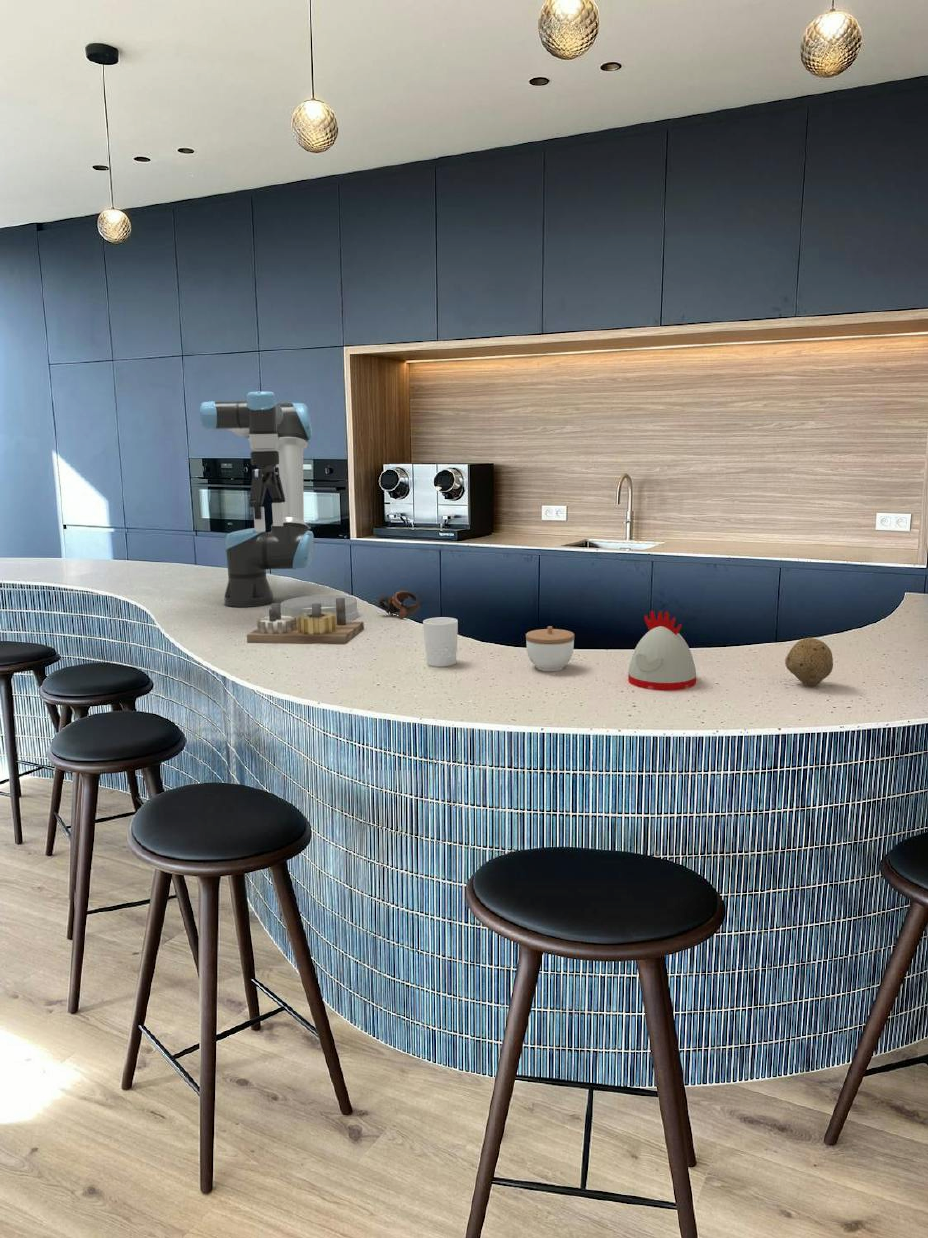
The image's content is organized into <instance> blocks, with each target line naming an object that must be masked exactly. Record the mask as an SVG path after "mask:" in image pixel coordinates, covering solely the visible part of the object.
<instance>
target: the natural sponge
mask: <svg viewBox="0 0 928 1238" xmlns="http://www.w3.org/2000/svg"><path fill="white" fill-rule="evenodd" d="M784 659H785V660H784V663H785V667H786V669H787V670H788V671H789V672H790V673H791V674H793V675H794V676H795V677H796V678H797V680H798V681H800V683H802V684H803V685H805V686H806V687H810V688H811V687H812V688H813V687H816V686H818V685H819V684H820V683H822V681H824V679H826V678H828V676H830V674H831V673H832V671H833V669H834V658H833V653H832V651H831V648H830V647H829V646H828V644H827V643H825V642H824V641H822V640H820V639H817V638H815V637H806V638H802V639H800V640H798V641H797V642H796V643H795V644H794V645H793V646H792V647H791V649H790V650H789V652H788V653H787V655H786V657H785V658H784Z"/></svg>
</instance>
